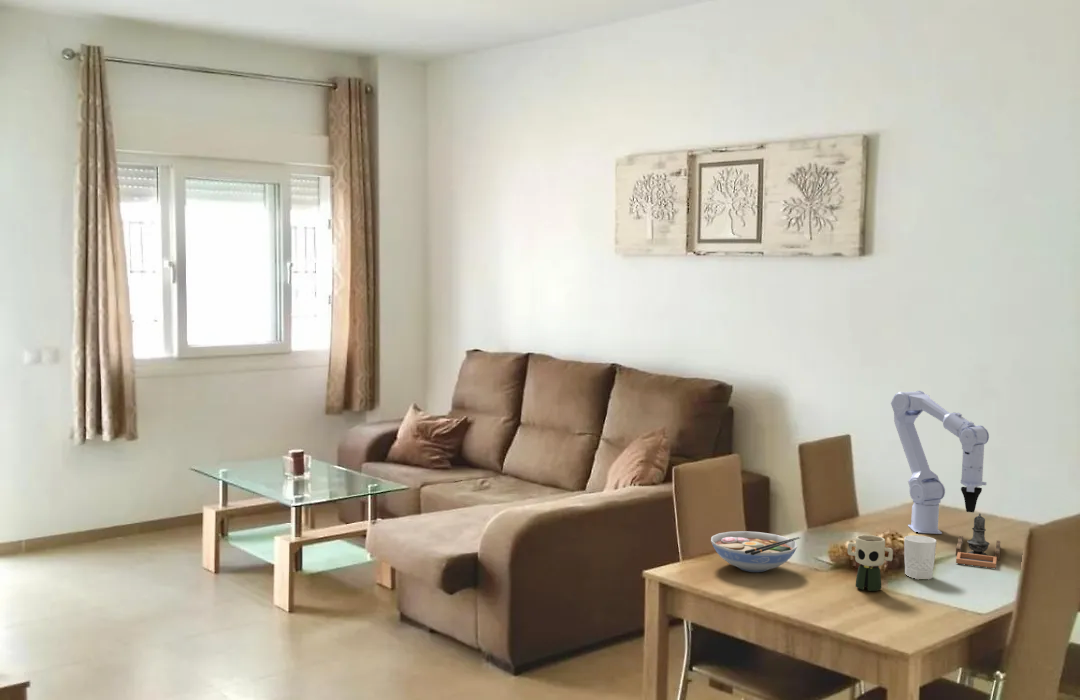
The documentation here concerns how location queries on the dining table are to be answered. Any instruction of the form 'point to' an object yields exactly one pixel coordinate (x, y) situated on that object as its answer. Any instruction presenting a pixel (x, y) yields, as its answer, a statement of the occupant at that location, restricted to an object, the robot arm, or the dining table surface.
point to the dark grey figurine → (978, 537)
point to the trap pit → (976, 560)
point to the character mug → (869, 560)
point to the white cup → (919, 556)
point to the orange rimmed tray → (960, 542)
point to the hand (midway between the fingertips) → (970, 511)
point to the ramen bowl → (753, 549)
